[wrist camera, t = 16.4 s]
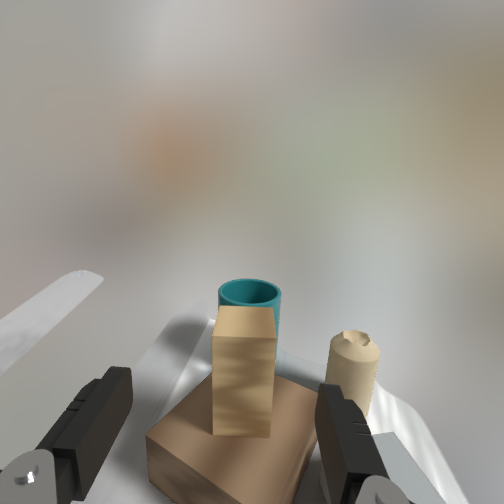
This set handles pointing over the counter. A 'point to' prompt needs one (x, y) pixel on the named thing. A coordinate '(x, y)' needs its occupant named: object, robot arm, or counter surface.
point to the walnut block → (233, 450)
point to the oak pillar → (243, 371)
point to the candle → (353, 366)
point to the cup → (251, 296)
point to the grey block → (398, 472)
